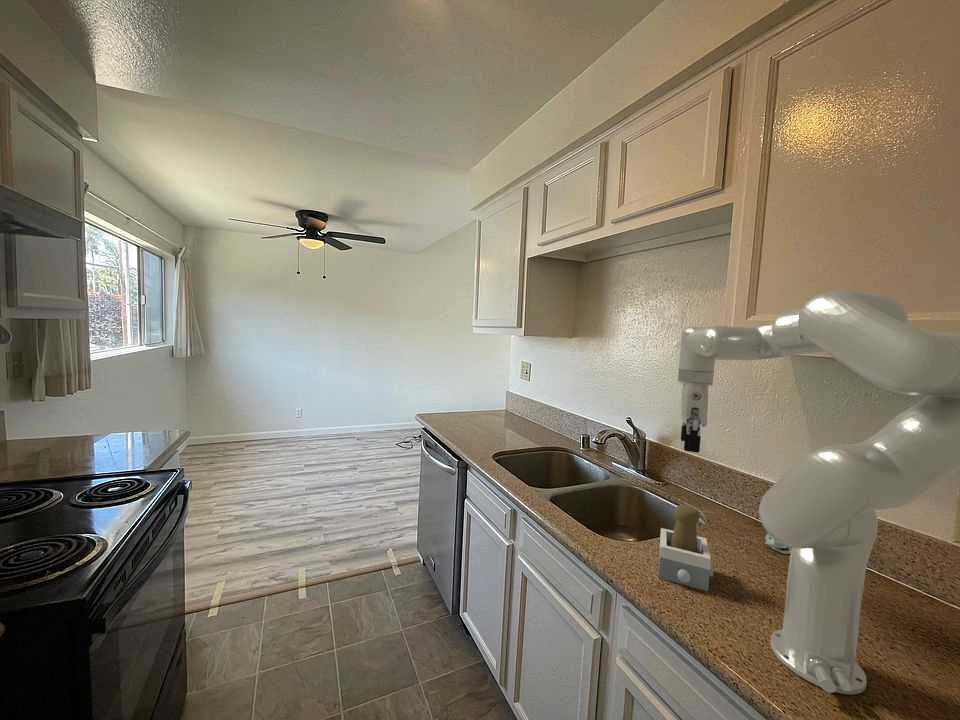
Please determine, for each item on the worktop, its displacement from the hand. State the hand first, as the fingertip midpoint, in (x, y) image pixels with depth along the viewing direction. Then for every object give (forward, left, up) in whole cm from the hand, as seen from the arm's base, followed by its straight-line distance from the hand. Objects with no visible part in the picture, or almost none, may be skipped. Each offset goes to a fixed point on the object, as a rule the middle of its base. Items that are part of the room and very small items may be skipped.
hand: (689, 446), depth 96 cm
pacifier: (+20, -25, -30) cm, 44 cm away
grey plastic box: (-6, 0, -29) cm, 30 cm away
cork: (-6, 0, -24) cm, 25 cm away
